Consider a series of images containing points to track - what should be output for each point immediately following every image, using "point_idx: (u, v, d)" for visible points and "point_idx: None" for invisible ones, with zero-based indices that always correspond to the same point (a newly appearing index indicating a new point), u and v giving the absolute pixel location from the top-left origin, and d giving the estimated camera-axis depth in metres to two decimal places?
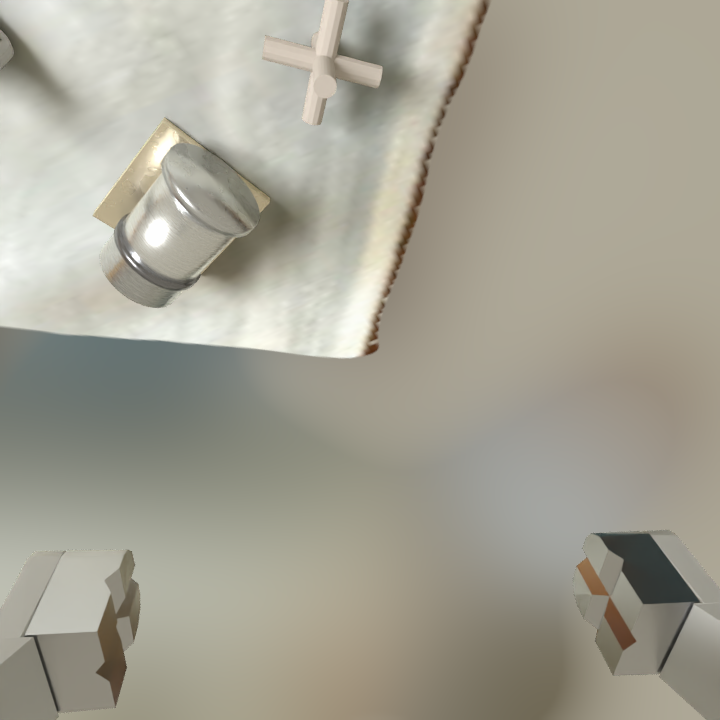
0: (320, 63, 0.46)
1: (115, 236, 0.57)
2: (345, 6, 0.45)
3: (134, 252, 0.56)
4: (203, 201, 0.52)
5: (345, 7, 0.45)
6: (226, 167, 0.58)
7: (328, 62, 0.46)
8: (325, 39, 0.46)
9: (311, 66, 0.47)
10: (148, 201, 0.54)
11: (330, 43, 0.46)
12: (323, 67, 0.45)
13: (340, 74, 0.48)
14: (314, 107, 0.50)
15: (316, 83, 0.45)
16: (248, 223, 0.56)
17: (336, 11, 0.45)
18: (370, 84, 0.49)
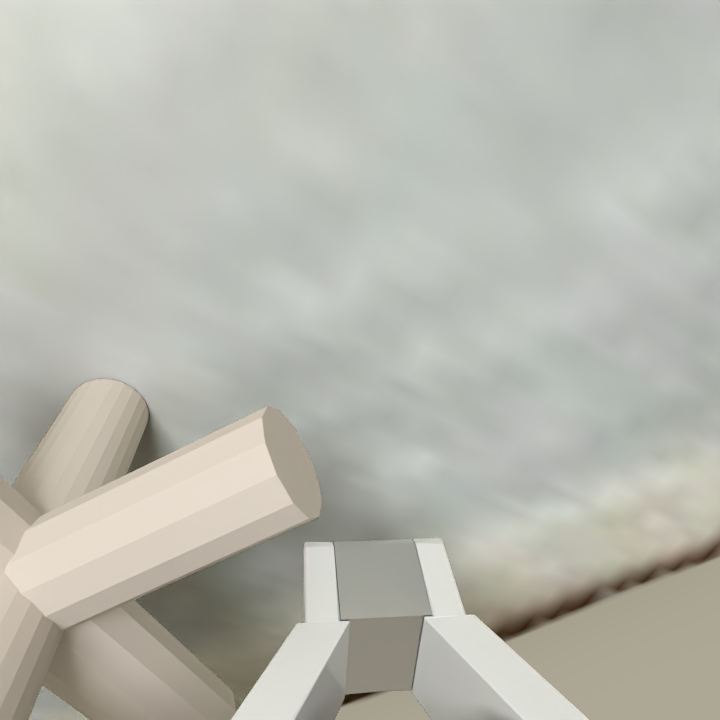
0: None
1: None
2: (297, 525, 0.08)
3: None
4: None
5: (293, 526, 0.08)
6: None
7: (12, 707, 0.07)
8: (101, 566, 0.08)
9: None
10: None
11: (107, 593, 0.08)
12: None
13: (52, 686, 0.09)
14: None
15: None
16: None
17: (250, 525, 0.08)
18: None
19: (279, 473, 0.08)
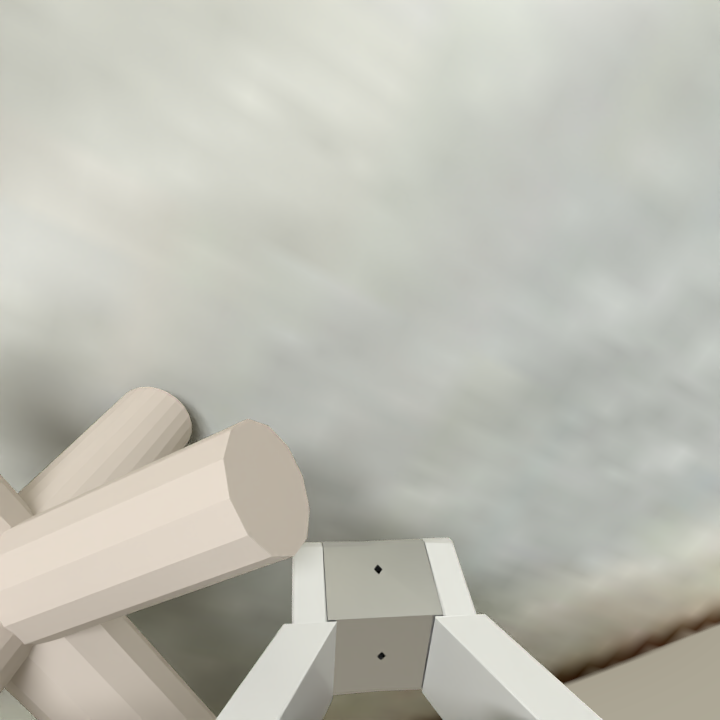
0: None
1: None
2: (266, 563, 0.07)
3: None
4: None
5: (263, 564, 0.07)
6: None
7: None
8: (54, 581, 0.07)
9: None
10: None
11: (63, 611, 0.07)
12: None
13: (25, 703, 0.09)
14: None
15: None
16: None
17: (203, 556, 0.07)
18: None
19: (235, 497, 0.06)
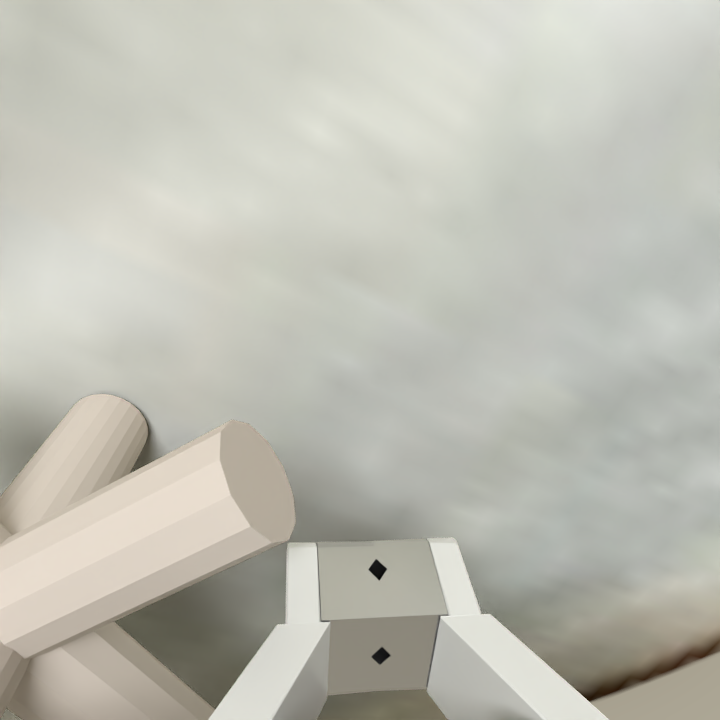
0: None
1: None
2: (263, 549, 0.08)
3: None
4: None
5: (260, 551, 0.08)
6: None
7: None
8: (56, 592, 0.08)
9: None
10: None
11: (66, 621, 0.08)
12: None
13: (24, 716, 0.09)
14: None
15: None
16: None
17: (207, 551, 0.07)
18: None
19: (235, 493, 0.07)
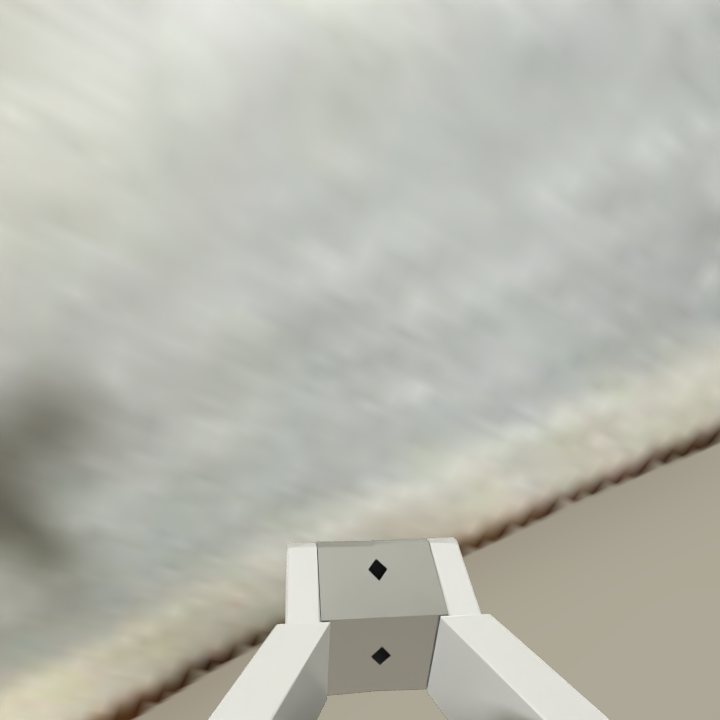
0: None
1: None
2: None
3: None
4: None
5: None
6: None
7: None
8: None
9: None
10: None
11: None
12: None
13: None
14: None
15: None
16: None
17: None
18: None
19: None
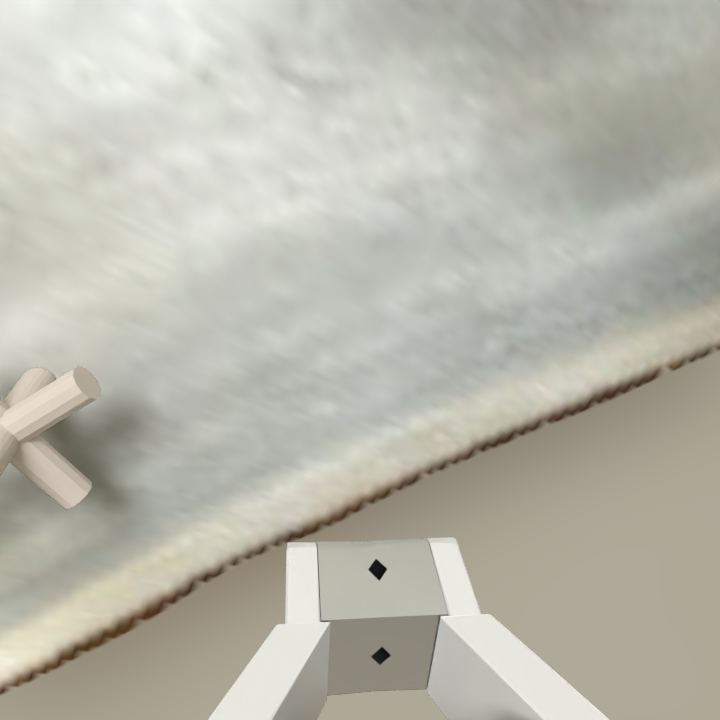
0: None
1: None
2: (88, 401, 0.27)
3: None
4: None
5: (88, 402, 0.27)
6: None
7: (3, 452, 0.26)
8: (28, 417, 0.27)
9: None
10: None
11: (31, 426, 0.27)
12: None
13: (18, 465, 0.28)
14: None
15: None
16: None
17: (71, 400, 0.27)
18: (55, 500, 0.29)
19: (77, 384, 0.27)
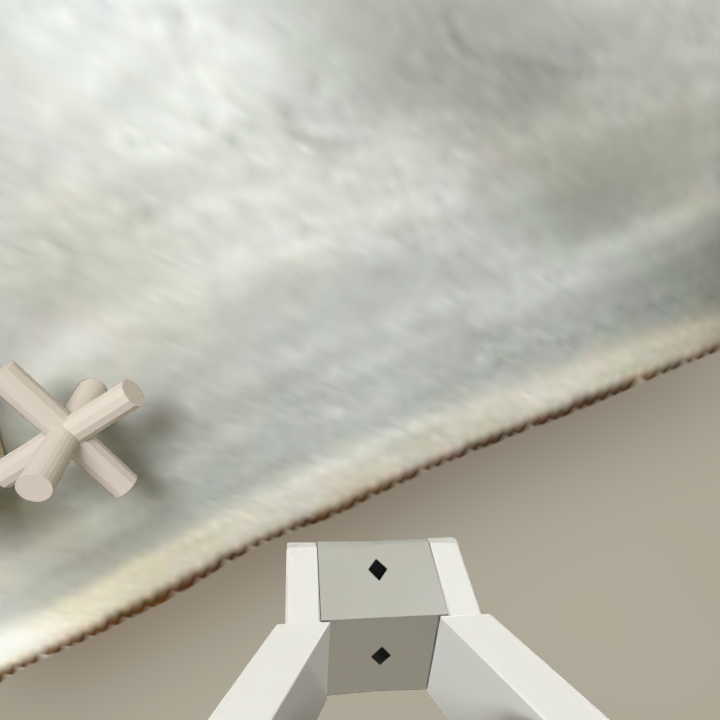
0: (54, 447, 0.31)
1: None
2: (135, 408, 0.33)
3: None
4: None
5: (134, 409, 0.33)
6: None
7: (67, 450, 0.32)
8: (86, 421, 0.33)
9: (46, 431, 0.33)
10: None
11: (88, 428, 0.33)
12: (52, 458, 0.30)
13: (77, 460, 0.34)
14: (15, 470, 0.33)
15: (24, 478, 0.29)
16: None
17: (120, 407, 0.32)
18: (107, 490, 0.35)
19: (125, 394, 0.32)
